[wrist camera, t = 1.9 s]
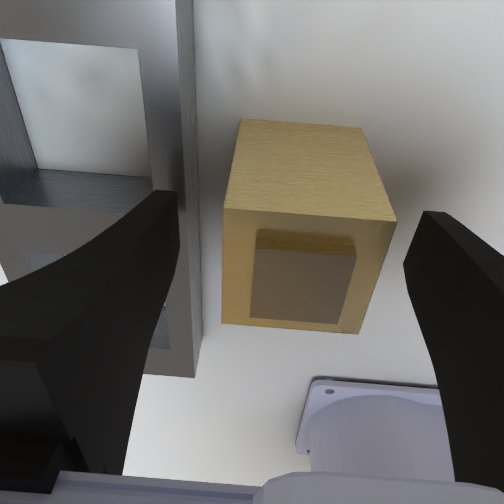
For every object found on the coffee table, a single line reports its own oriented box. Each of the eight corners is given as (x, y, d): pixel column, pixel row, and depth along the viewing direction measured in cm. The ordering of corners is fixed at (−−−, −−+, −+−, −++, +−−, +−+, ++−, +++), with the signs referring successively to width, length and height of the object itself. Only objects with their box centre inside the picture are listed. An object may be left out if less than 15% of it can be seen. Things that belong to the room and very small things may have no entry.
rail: (191, -54, 11) (172, -48, 9) (202, 337, 21) (194, 378, 19) (-73, -74, 11) (-146, -72, 9) (66, 326, 21) (45, 365, 19)
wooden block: (360, 127, 14) (401, 232, 9) (337, 225, 16) (360, 345, 12) (241, 118, 14) (221, 217, 9) (236, 217, 16) (219, 334, 12)
